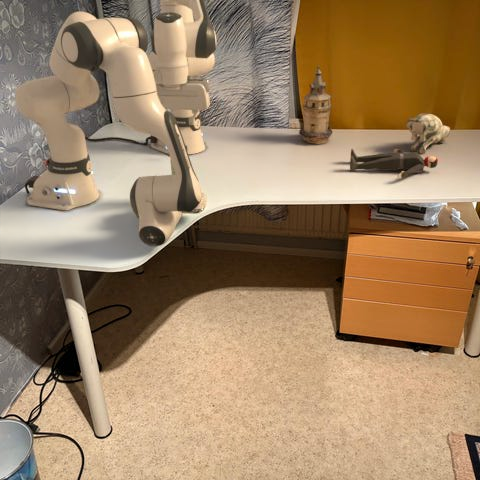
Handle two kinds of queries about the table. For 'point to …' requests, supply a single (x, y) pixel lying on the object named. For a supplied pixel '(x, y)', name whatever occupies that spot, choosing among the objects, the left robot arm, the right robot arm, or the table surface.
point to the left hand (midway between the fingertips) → (177, 190)
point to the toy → (393, 162)
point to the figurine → (427, 131)
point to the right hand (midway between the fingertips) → (176, 123)
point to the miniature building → (316, 112)
